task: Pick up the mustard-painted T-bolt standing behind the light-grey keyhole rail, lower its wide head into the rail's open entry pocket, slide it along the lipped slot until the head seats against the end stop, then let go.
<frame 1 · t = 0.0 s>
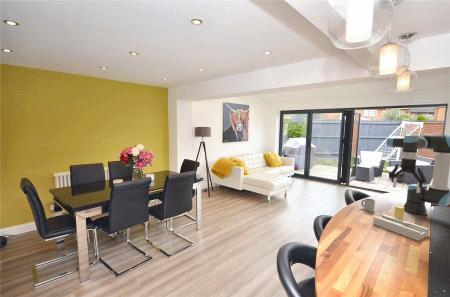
hand: (405, 189, 150), 28 cm above the kitchen island, fingers open, 13 cm apart
cup: (367, 209, 190), on the kitchen island
keyhole rail: (398, 229, 153), on the kitchen island
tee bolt: (398, 222, 164), on the kitchen island
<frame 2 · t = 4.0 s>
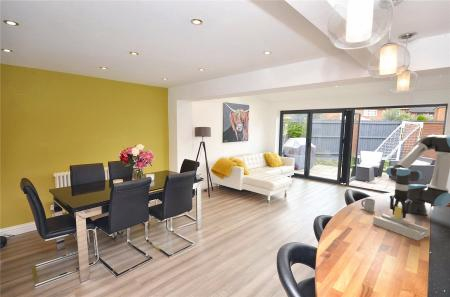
hand: (398, 220, 164), 2 cm above the kitchen island, fingers closed on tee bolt, 4 cm apart
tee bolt: (398, 222, 164), on the kitchen island, touching gripper
everything else where it was.
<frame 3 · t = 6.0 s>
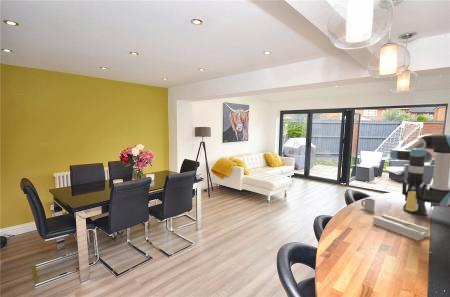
hand: (411, 207, 147), 17 cm above the kitchen island, fingers closed on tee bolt, 4 cm apart
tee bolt: (411, 209, 148), point 16 cm above the kitchen island, touching gripper
everything else where it was.
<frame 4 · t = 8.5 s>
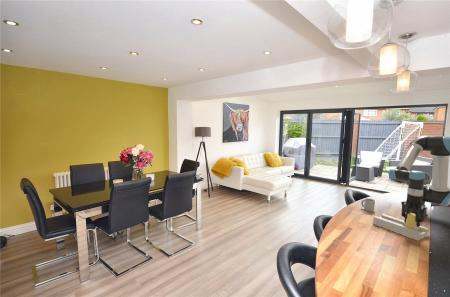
hand: (411, 229, 147), 3 cm above the kitchen island, fingers closed on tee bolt, 4 cm apart
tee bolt: (410, 231, 147), point 1 cm above the kitchen island, touching gripper
everything else where it was.
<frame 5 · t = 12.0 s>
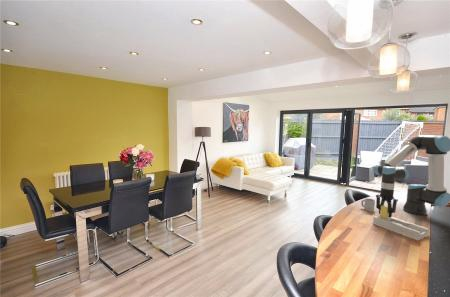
hand: (384, 219, 161), 3 cm above the kitchen island, fingers closed on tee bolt, 4 cm apart
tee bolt: (384, 222, 161), point 1 cm above the kitchen island, touching gripper
everything else where it was.
when the fingers open (3 cm above the kitchen island, at t = 13.1 s): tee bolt stays where it is, resting on keyhole rail.
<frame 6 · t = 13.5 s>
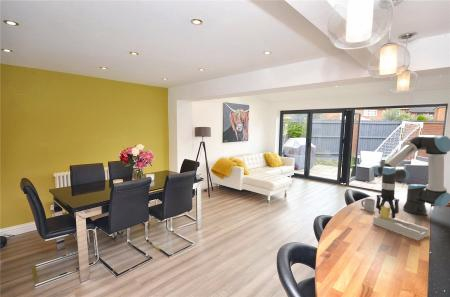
hand: (386, 220, 160), 3 cm above the kitchen island, fingers open, 6 cm apart
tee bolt: (384, 222, 161), point 1 cm above the kitchen island, touching keyhole rail
everything else where it was.
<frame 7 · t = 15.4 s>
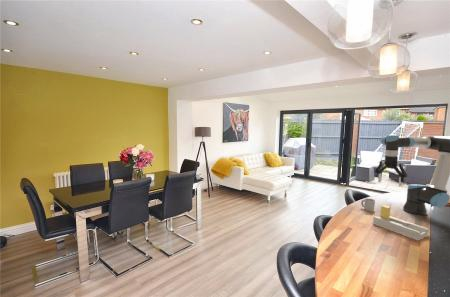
hand: (389, 184, 166), 28 cm above the kitchen island, fingers open, 13 cm apart
nothing on the kitchen island moved.
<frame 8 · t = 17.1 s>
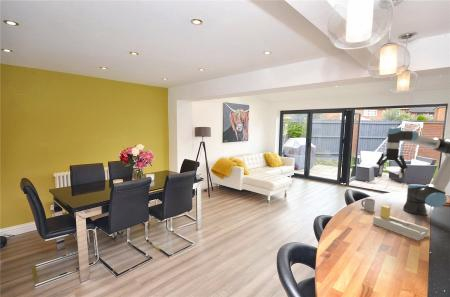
hand: (390, 175, 172), 33 cm above the kitchen island, fingers open, 13 cm apart
nothing on the kitchen island moved.
at the end: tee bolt 0.9 cm from the target spot on the keyhole rail, point 1.0 cm above the keyhole rail's base; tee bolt tilted 0°; the gripper is holding nothing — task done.
